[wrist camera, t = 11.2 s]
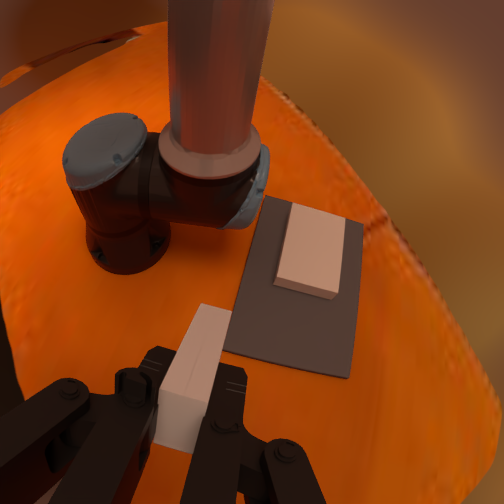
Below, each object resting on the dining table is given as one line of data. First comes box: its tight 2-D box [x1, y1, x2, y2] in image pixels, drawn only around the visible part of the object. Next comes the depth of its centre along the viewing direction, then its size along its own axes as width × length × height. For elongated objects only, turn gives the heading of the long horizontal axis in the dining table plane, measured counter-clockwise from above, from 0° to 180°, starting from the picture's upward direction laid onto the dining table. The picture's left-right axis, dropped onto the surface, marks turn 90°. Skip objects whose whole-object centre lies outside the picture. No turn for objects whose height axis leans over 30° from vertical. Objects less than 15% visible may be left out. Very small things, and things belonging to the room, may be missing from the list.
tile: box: [273, 203, 345, 300], centre depth 55 cm, size 3×10×15 cm
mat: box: [222, 195, 363, 379], centre depth 54 cm, size 30×20×1 cm, turn 167°
